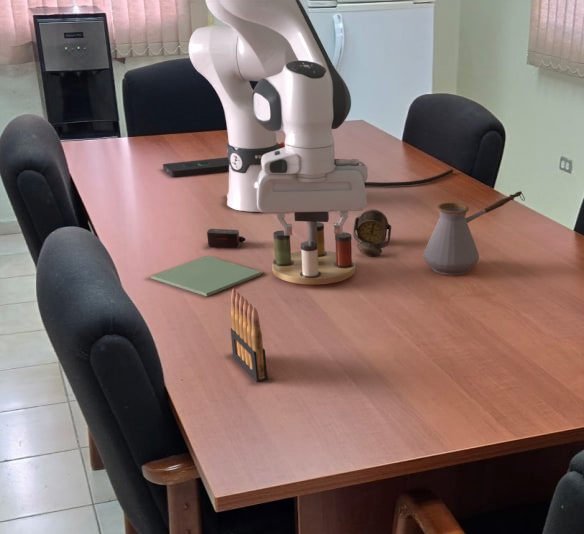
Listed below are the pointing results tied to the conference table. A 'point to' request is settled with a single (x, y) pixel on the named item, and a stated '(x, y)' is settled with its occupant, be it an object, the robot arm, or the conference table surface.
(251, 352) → the ammunition clip
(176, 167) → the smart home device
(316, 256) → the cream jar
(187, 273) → the sage mat
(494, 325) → the conference table surface
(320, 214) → the spice carousel
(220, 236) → the black box with knob
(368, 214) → the vintage desk clock
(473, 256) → the coffee pot
